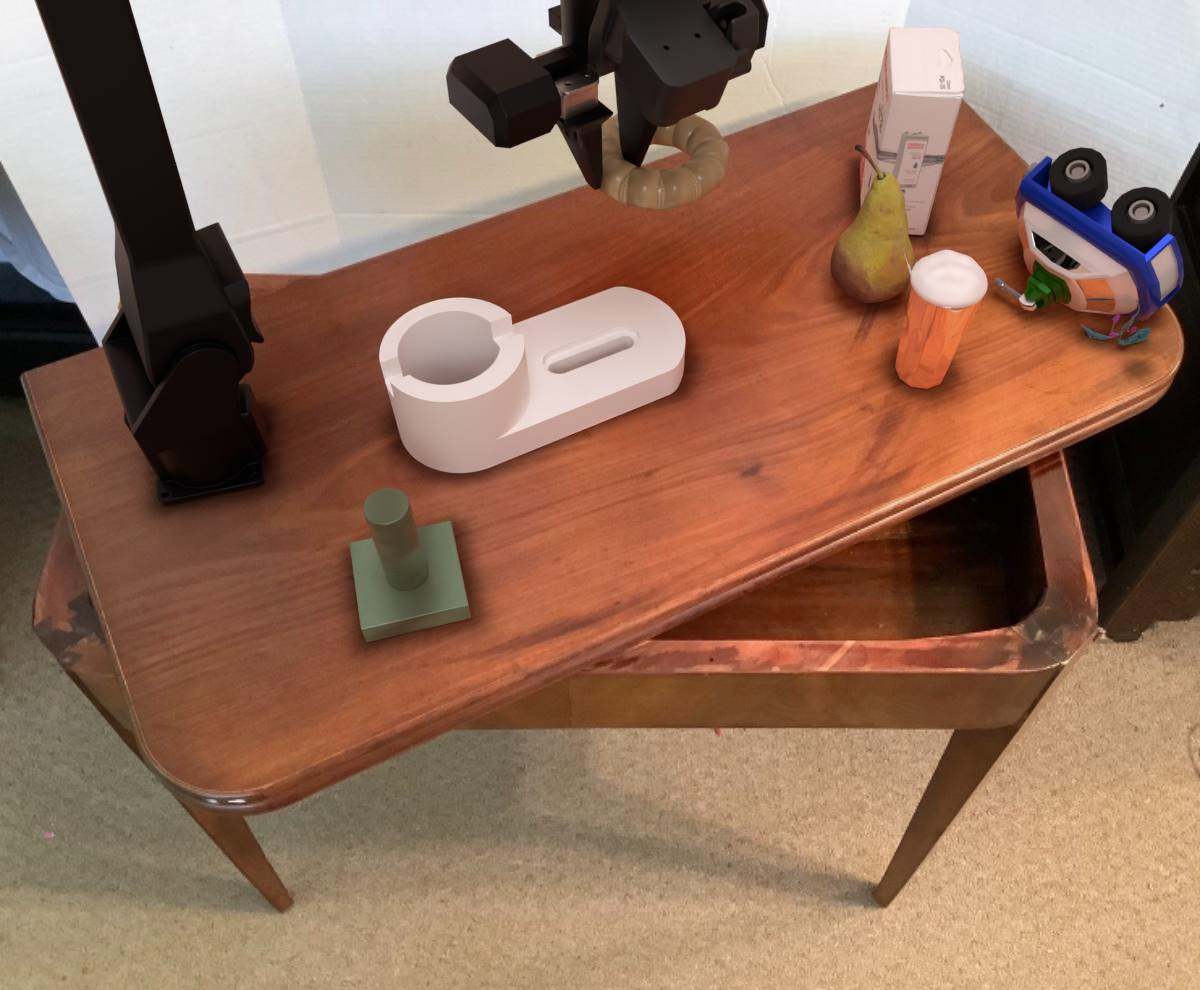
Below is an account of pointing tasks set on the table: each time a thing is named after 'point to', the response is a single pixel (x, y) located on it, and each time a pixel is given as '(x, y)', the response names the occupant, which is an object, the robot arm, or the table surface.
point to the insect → (1132, 339)
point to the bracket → (524, 373)
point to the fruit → (875, 244)
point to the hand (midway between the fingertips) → (612, 178)
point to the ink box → (914, 116)
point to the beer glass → (937, 315)
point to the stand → (405, 571)
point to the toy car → (1093, 240)
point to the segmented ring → (670, 183)
